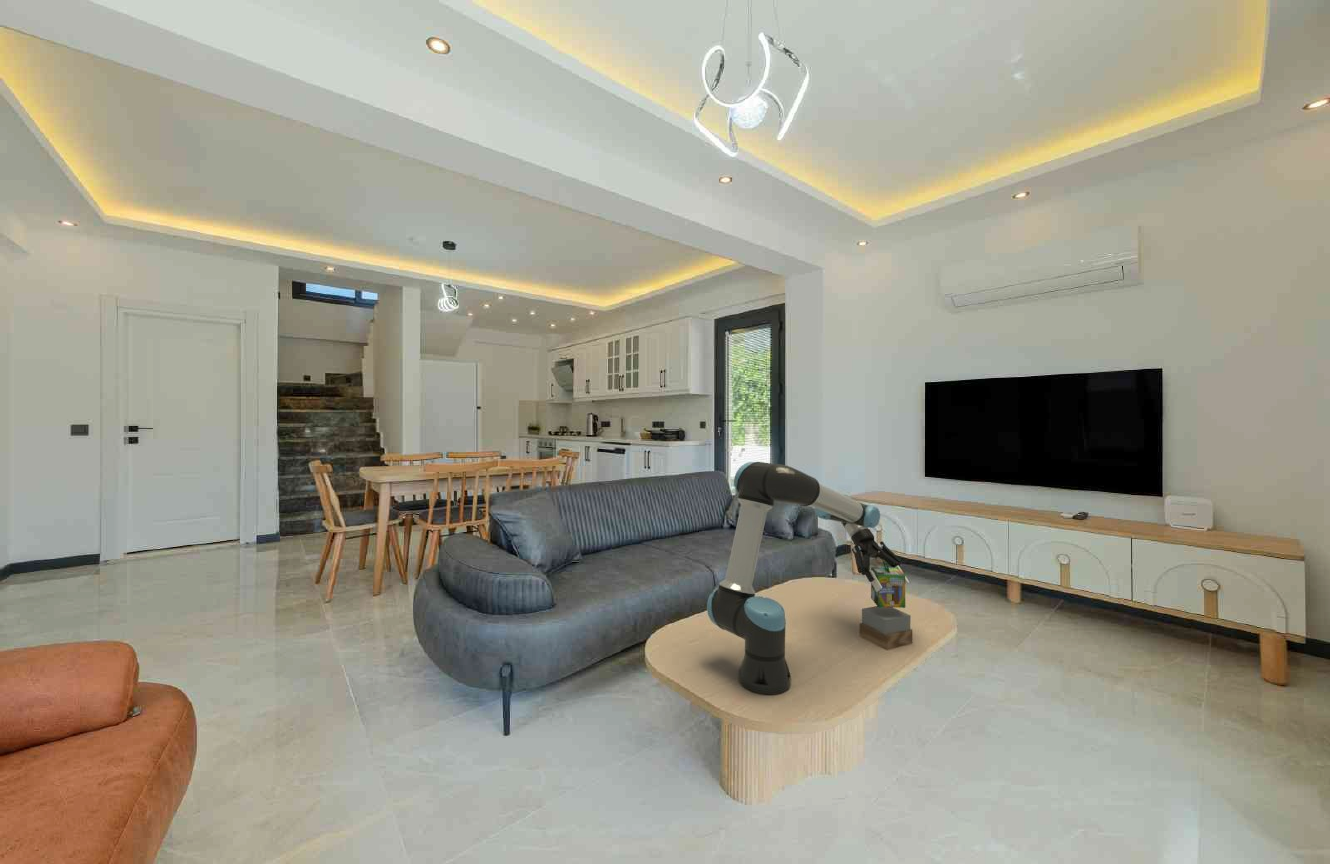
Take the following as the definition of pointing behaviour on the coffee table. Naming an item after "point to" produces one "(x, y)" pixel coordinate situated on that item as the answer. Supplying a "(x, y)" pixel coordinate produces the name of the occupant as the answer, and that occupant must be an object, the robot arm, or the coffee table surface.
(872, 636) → the tower bottom slab
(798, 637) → the coffee table surface
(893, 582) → the chalk box
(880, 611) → the tower top slab
